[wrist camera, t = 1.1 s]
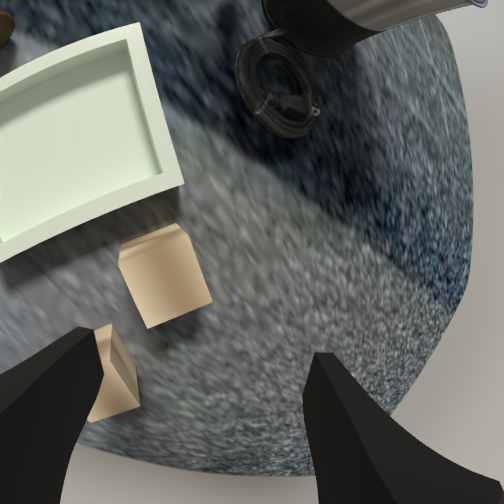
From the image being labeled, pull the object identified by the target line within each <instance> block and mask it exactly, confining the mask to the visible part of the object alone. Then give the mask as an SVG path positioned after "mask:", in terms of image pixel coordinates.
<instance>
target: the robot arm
mask: <svg viewBox="0 0 504 504" xmlns="http://www.w3.org/2000/svg"><path fill="white" fill-rule="evenodd" d="M103 377H104V370H103V366H102V363H101V359H100V355H99V351H98V346H97V342H96V338H95V333H94V330H93V329H88V328H83V327H77V328H75V329H73V330H72V331H70V332H68V333H67V334H65V335H64V336H62V337H61V338H59V339H58V340H56V341H54V342H53V343H51V344H50V345H48V346H47V347H45V348H44V349H42V350H41V351H39V352H38V353H36V354H35V355H33V356H31V357H30V358H28V359H26V360H25V361H23V362H21V363H20V364H18V365H16V366H15V367H13V368H11V369H10V370H8V371H6V372H4V373H2V374H0V504H60V498H61V493H62V488H63V484H64V479H65V475H66V471H67V468H68V464H69V460H70V457H71V454H72V451H73V449H74V446H75V444H76V442H77V439H78V437H79V435H80V433H81V431H82V429H83V426H84V424H85V422H86V420H87V418H88V416H89V414H90V411H91V409H92V407H93V405H94V403H95V401H96V399H97V396H98V393H99V390H100V387H101V384H102V380H103ZM302 398H303V412H304V422H305V427H306V432H307V437H308V442H309V447H310V451H311V456H312V461H313V465H314V470H315V475H316V480H317V488H318V500H319V504H504V491H503V488H502V486H501V484H500V482H499V481H497V480H494V479H491V478H489V477H486V476H483V475H480V474H478V473H475V472H472V471H470V470H468V469H466V468H464V467H462V466H460V465H458V464H456V463H454V462H452V461H450V460H449V459H447V458H445V457H443V456H442V455H440V454H438V453H437V452H435V451H434V450H432V449H431V448H429V447H428V446H426V445H425V444H423V443H422V442H420V441H419V440H418V439H416V438H415V437H414V436H412V435H411V434H410V433H409V432H407V431H406V430H405V429H404V428H403V427H401V426H400V425H399V424H398V423H397V422H396V421H394V420H393V419H392V418H391V417H390V416H389V415H388V414H387V413H386V412H385V411H384V410H383V409H382V408H381V407H380V406H379V405H378V404H377V403H376V402H375V401H374V400H373V399H372V398H371V397H370V396H369V394H368V393H367V392H366V391H365V390H364V389H363V388H362V387H361V386H360V384H359V383H358V382H357V381H356V380H355V379H354V377H353V376H352V375H351V374H350V373H349V371H348V370H347V369H346V368H345V367H344V365H343V364H342V363H341V362H340V361H339V359H338V358H337V357H336V356H335V355H334V353H317V352H315V353H314V357H313V360H312V364H311V367H310V371H309V375H308V378H307V381H306V385H305V388H304V392H303V395H302Z"/></svg>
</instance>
